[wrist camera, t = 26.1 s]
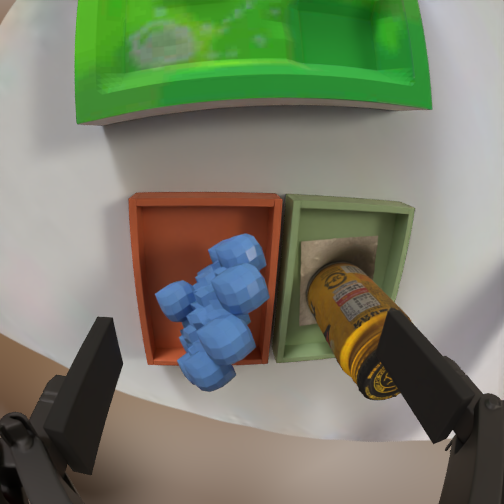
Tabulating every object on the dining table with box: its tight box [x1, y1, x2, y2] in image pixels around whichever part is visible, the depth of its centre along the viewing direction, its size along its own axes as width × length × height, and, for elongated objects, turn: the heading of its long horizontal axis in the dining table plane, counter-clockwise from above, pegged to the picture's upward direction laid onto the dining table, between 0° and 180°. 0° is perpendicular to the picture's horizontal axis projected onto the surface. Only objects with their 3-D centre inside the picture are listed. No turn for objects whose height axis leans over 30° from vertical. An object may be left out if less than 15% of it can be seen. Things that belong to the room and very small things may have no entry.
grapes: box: [155, 233, 270, 392], centre depth 20 cm, size 12×7×12 cm, turn 159°
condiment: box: [299, 236, 411, 400], centre depth 22 cm, size 7×8×12 cm
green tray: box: [272, 194, 415, 363], centre depth 27 cm, size 11×15×2 cm
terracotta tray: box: [128, 192, 283, 366], centre depth 25 cm, size 11×15×2 cm
